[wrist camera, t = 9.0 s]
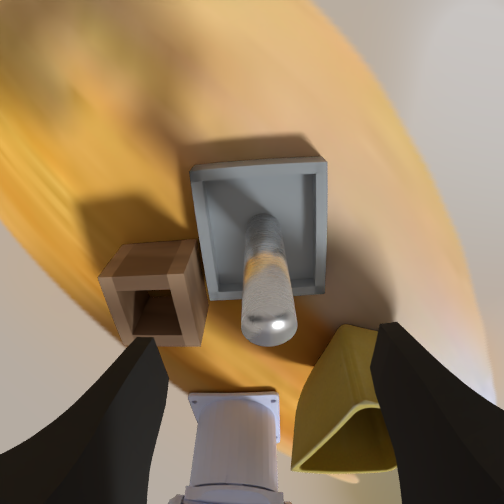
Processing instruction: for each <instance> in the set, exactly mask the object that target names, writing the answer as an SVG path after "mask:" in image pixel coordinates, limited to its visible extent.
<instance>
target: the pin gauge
mask: <svg viewBox="0 0 504 504" xmlns="http://www.w3.org/2000/svg"><path fill="white" fill-rule="evenodd" d="M297 326H298V325H297V318H296V311H295V306H294V300H293V294H292V288H291V282H290V276H289V271H288V265H287V259H286V254H285V248H284V243H283V238H282V232H281V227H280V224H279V222H278V220H277V219H276V218H275V217H274V216H272V215H269V214H265V213H262V214H257V215H255V216H253V217H251V218H250V219H249V221H248V222H247V224H246V228H245V248H244V270H243V293H242V317H241V330H242V333H243V335H244V336H245V338H246V339H247V340H249V341H250V342H252V343H254V344H256V345H260V346H277V345H280V344H283V343H285V342H287V341H288V340H290V339H291V338H292V337H293V336H294V334H295V333H296V330H297Z"/></svg>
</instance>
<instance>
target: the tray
mask: <svg viewBox="0 0 504 504" xmlns="http://www.w3.org/2000/svg"><path fill="white" fill-rule="evenodd" d="M189 173H190V181H191V188H192V195H193V201H194V208H195V215H196V221H197V228H198V234H199V240H200V246H201V252H202V258H203V264H204V270H205V276H206V281H207V287H208V292H209V298H210V301H213V300H235V299H242V293H243V270H244V248H245V228H246V224H247V222H248V221H249V219H250V218H251V217H253V216H255V215H257V214H262V213H265V214H269V215H272V216H274V217H275V218H276V219H277V220H278V222H279V224H280V227H281V232H282V238H283V243H284V248H285V254H286V259H287V265H288V271H289V276H290V282H291V288H292V294H293V296H301V295H314V294H324V293H325V274H326V248H327V190H328V185H327V161H326V160H325V159H324V158H323V157H322V156H321V157H292V158H273V159H257V160H243V161H231V162H220V163H210V164H200V165H194V166H193V167H192V169H191V170H190V171H189Z"/></svg>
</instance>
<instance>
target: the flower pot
mask: <svg viewBox="0 0 504 504" xmlns="http://www.w3.org/2000/svg"><path fill="white" fill-rule="evenodd" d="M377 335H378V331H374V330H369V329H365V328H361V327H357V326H353V325H349V324H344V325H341V326H340V327H339V328H338V330H337V332H336V333H335V335H334V336H333V338H332V339H331V341H330V343H329V344H328V346H327V348H326V349H325V351H324V352H323V354H322V355H321V357H320V358H319V360H318V361H317V363H316V364H315V366H314V368H313V370H312V371H311V373H310V375H309V377H308V379H307V381H306V383H305V385H304V387H303V390H302V392H301V395H300V398H299V402H298V405H297V410H296V416H295V426H294V438H293V449H292V461H291V471H296V472H305V473H320V474H357V473H376V472H377V473H378V472H387V471H392V470H394V469H396V468H397V463H396V457H395V453H394V449H393V446H392V443H391V439H390V436H389V433H388V430H387V427H386V424H385V421H384V418H383V415H382V412H381V409H380V406H379V403H378V400H377V397H376V394H375V390H374V385H373V381H372V376H371V371H370V364H371V360H372V356H373V352H374V348H375V343H376V339H377Z"/></svg>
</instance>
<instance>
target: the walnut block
mask: <svg viewBox="0 0 504 504" xmlns="http://www.w3.org/2000/svg"><path fill="white" fill-rule="evenodd" d="M98 280H99V283H100V286H101V289H102V291H103V294H104V297H105V300H106V302H107V305H108V308H109V310H110V313H111V315H112V318H113V320H114V323H115V325H116V328H117V330H118V333H119V335H120V337H121V340H122V342H123V344H124V345H130V344H131V343H132V341H133V340H134V339H135V338H136V337H154V339H155V342H156V345H157V346H170V347H197V346H201V342H202V337H203V332H204V327H205V322H206V317H207V312H208V307H209V304H208V299H207V294H206V288H205V283H204V278H203V272H202V266H201V261H200V255H199V249H198V243H197V239H189V240H176V241H163V242H150V243H137V244H125V245H122V246H121V247H120V249H119V250H118V251H117V253H116V254H115V255H114V256H113V258H112V259H111V260H110V262H109V263H108V264H107V266H106V267H105V268H104V270H103V271H102V272H101V274H100V275H99V276H98ZM166 289H170V290H171V294H172V296H160V297H149V294H148V290H166Z"/></svg>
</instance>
